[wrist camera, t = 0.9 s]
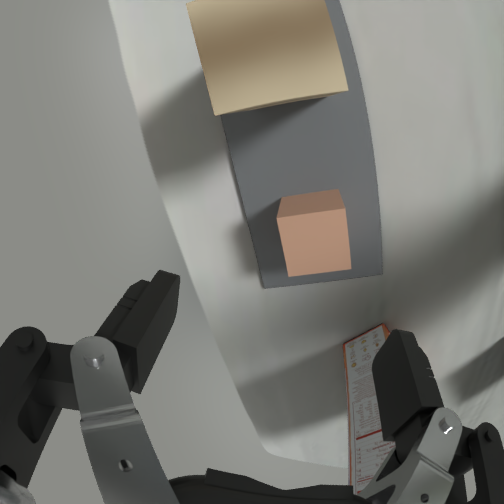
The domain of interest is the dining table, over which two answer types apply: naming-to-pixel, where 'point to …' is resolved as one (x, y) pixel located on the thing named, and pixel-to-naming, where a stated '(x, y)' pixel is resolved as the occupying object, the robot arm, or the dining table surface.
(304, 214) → the terracotta cube
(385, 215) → the dining table surface
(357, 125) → the rubber mat
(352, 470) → the cracker box
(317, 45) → the tower mid
